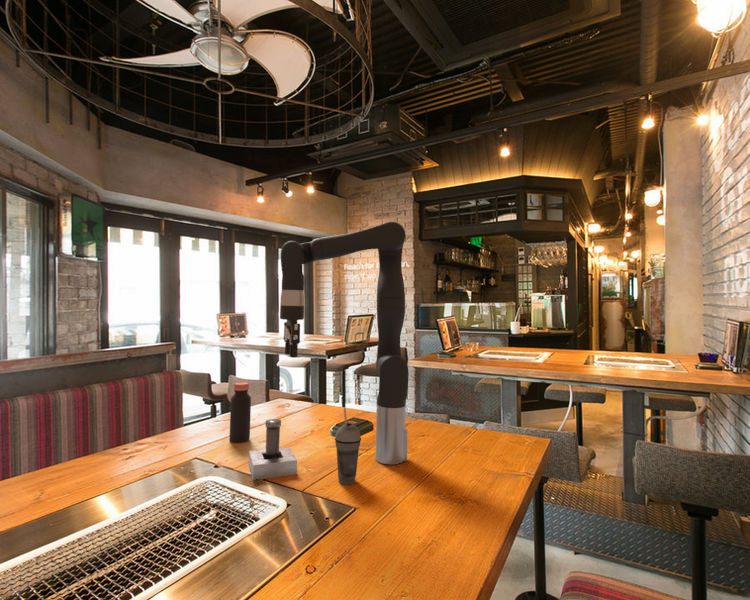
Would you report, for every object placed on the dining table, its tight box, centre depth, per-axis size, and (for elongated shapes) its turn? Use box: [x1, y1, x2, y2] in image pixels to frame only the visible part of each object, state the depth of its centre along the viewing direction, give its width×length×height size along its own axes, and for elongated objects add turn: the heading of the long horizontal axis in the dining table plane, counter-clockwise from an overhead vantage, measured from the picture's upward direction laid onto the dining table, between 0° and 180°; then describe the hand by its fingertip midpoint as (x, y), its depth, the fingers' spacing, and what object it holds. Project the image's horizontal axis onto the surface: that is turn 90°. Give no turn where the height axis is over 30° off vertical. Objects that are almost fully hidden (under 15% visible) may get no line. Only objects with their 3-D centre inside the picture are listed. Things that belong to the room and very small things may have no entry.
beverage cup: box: [334, 407, 362, 486], centre depth 111 cm, size 7×7×20 cm
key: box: [265, 418, 282, 460], centre depth 118 cm, size 4×4×14 cm
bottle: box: [229, 381, 252, 444], centre depth 143 cm, size 7×7×20 cm
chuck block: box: [248, 446, 298, 481], centre depth 118 cm, size 12×12×4 cm
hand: (290, 355), depth 128 cm, fingers open, 8 cm apart
